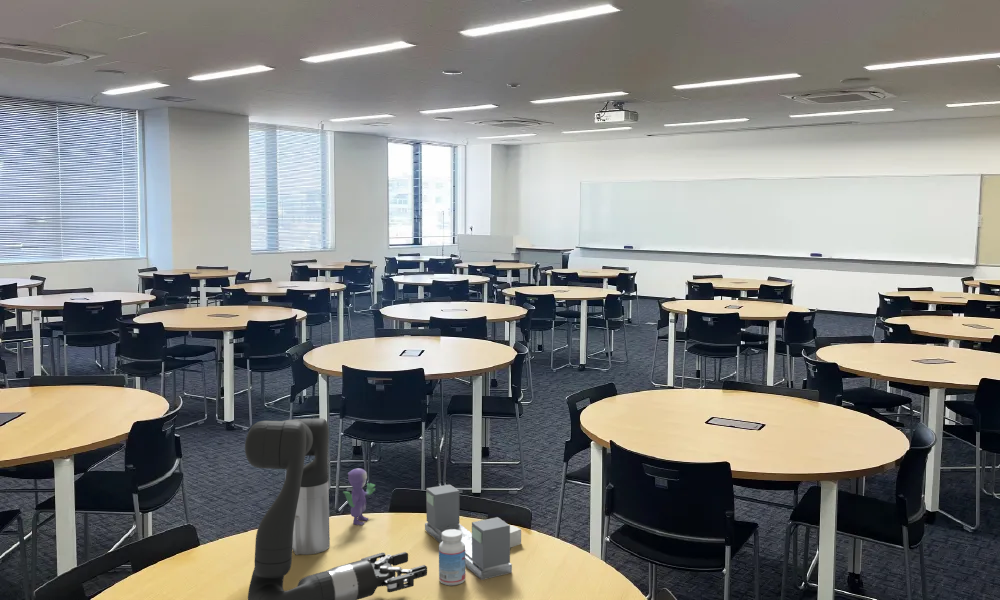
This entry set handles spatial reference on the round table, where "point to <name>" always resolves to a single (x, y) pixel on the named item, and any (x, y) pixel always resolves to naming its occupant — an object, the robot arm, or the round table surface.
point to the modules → (486, 534)
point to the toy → (358, 494)
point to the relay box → (515, 536)
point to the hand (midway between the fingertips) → (416, 563)
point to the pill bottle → (452, 558)
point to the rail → (470, 552)
